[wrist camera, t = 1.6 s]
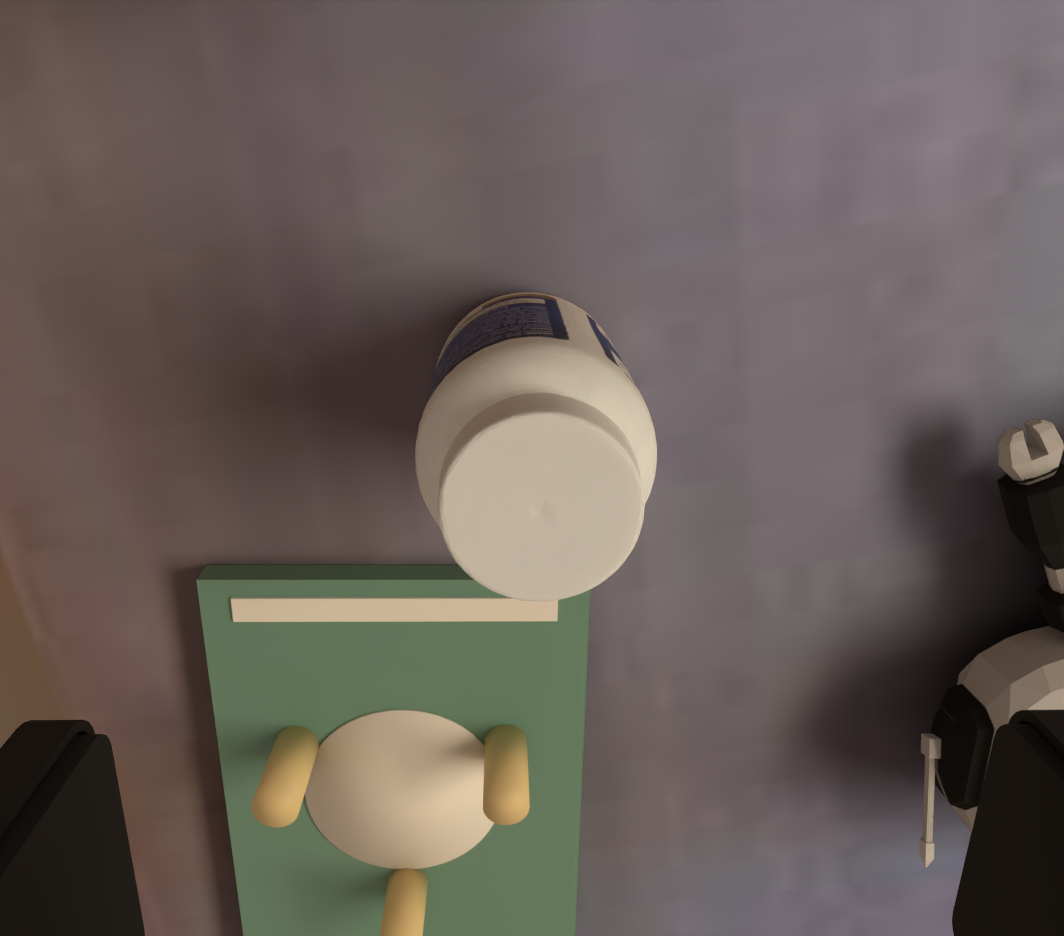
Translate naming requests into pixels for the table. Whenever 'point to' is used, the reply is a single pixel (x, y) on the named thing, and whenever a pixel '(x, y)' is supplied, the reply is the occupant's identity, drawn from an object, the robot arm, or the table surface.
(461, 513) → the pill bottle
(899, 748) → the table surface
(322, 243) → the table surface
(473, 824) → the board
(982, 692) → the robot toy
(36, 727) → the robot arm
